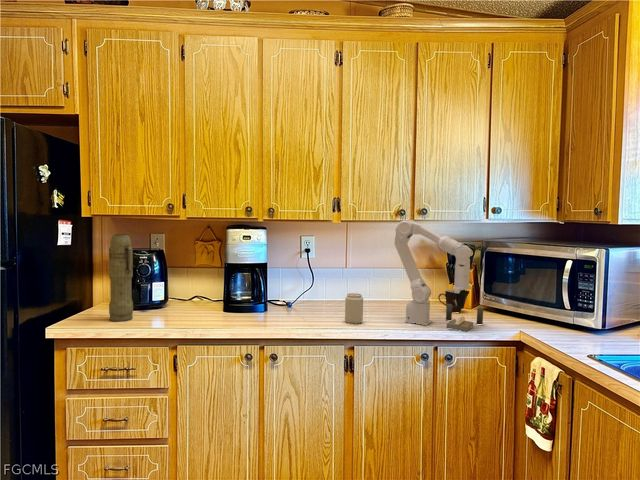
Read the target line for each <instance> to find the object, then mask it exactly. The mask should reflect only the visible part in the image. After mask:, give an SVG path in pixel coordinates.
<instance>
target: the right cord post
mask: <svg viewBox="0 0 640 480" xmlns="http://www.w3.org/2000/svg"><path fill="white" fill-rule="evenodd" d="M476 311H477V312H476V325H477V324H483V322H484V308H482V307H477V309H476ZM483 325H484V324H483Z"/></svg>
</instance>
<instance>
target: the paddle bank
mask: <svg viewBox="0 0 640 480" xmlns="http://www.w3.org/2000/svg"><path fill="white" fill-rule="evenodd" d="M465 317H466V316H465V315H460V316H459V317H458V318H455V319H456V323H455V324H457V325H459V324H461V323H462V322H463V321H466V319H465Z"/></svg>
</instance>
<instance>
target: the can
mask: <svg viewBox="0 0 640 480" xmlns="http://www.w3.org/2000/svg"><path fill="white" fill-rule="evenodd" d="M362 295H363V294H362V293H358V292H357V293H356V292H355V293H354V292H353V293H351V292H350V293H347V294H346V297H345V299H344V300H345V301H344V321H345V322H346V323H347V324H350V325H351V324H352V325H360V324H361V323H362V322H363V320H364V319H363V318H364V298H363V296H362Z"/></svg>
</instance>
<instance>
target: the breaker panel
mask: <svg viewBox="0 0 640 480" xmlns="http://www.w3.org/2000/svg"><path fill="white" fill-rule="evenodd" d="M456 319H457V318H453V319H452V321H448V322H447V323H446V329H447V328H452V329H457V330H456V331H458V330H461V331H460V332H464V331H465V332H466V333H467V332H469V331H470V330H471V329H472V328H473V327H474V322H473V321H470V320H469V321H468V320H465V321H463V322H462V323H461V324H459V325H457V324H455V323H456ZM472 326H473V327H472ZM471 327H472V328H471ZM470 328H471V329H470ZM452 329H451V330H452ZM469 329H470V330H469Z"/></svg>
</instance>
